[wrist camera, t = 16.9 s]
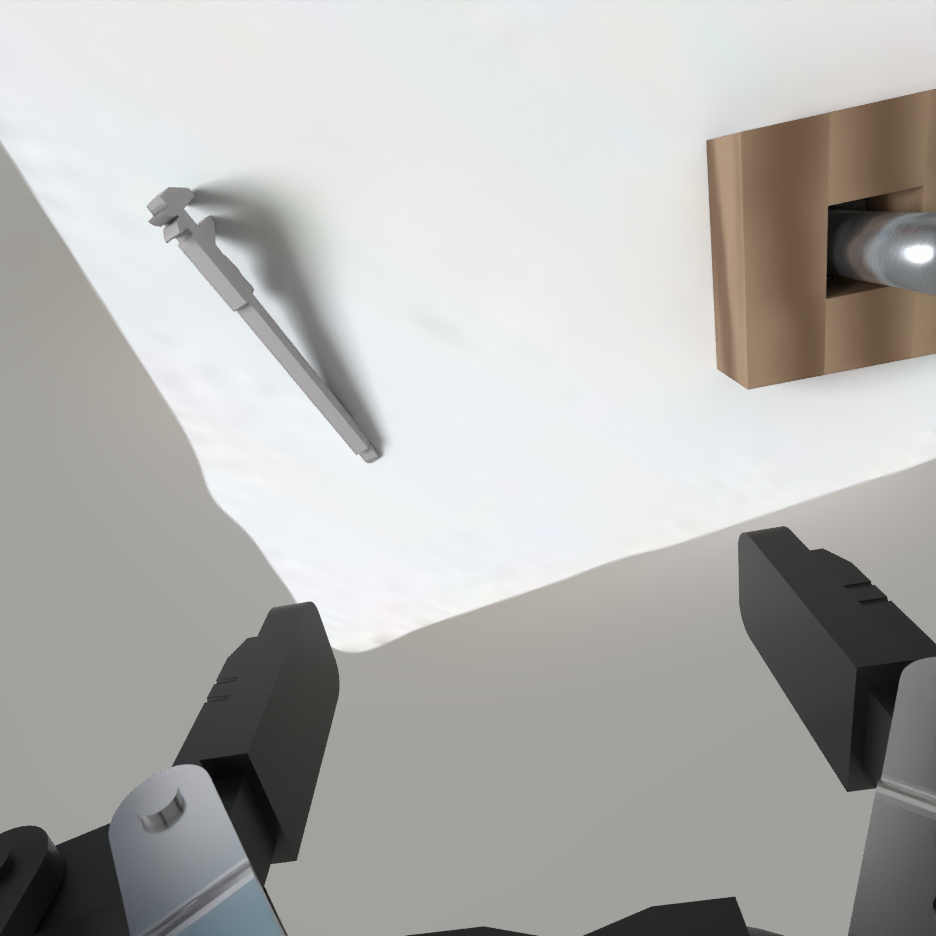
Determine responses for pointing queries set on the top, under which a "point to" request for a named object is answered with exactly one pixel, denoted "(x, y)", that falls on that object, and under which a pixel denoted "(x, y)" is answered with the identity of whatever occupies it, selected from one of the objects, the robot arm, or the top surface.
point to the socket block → (815, 241)
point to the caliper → (250, 308)
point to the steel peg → (884, 248)
